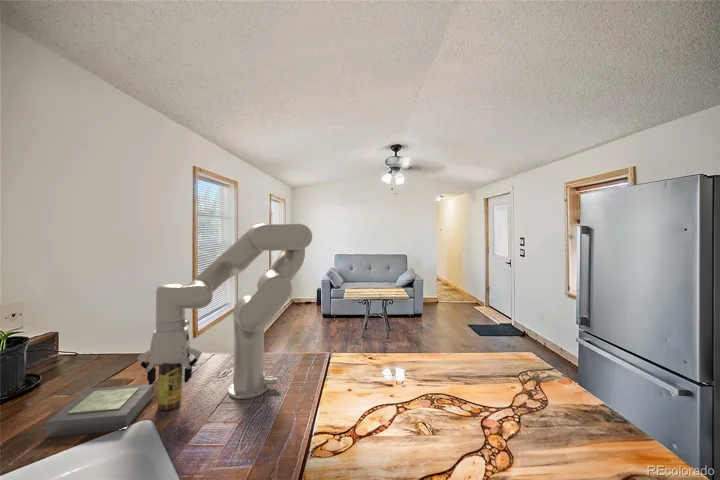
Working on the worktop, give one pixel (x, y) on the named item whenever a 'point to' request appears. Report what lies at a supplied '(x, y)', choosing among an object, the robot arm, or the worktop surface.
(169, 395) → the sauce bottle
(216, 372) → the worktop surface
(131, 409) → the stand
